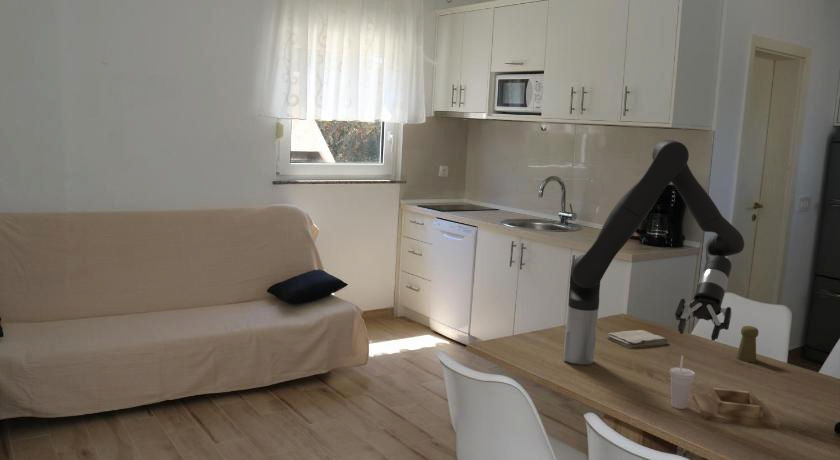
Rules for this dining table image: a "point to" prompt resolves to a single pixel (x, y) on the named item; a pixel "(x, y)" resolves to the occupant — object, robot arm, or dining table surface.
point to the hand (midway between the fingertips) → (696, 335)
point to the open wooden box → (734, 408)
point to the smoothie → (680, 385)
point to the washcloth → (636, 339)
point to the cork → (748, 344)
